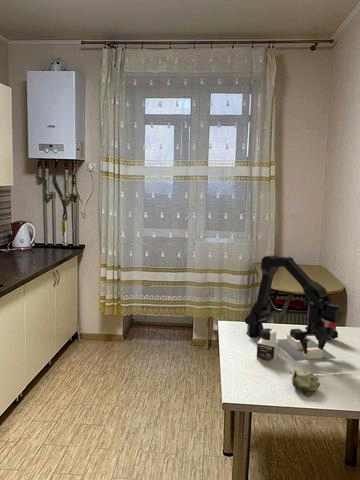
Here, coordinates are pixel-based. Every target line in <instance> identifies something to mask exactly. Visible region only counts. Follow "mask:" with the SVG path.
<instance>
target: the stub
mask: <svg viewBox="0 0 360 480" xmlns="http://www.w3.org/2000/svg"><path fill="white" fill-rule="evenodd" d="M322 354H323V351H322V350H321V349H319V348H318V347H317V346H315V347H307V354H305V353H304V351H303V355H304V356H306V357H307V358H308V359H317V360H320V359H319V358H322Z"/></svg>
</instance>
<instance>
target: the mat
mask: <svg viewBox="0 0 360 480" xmlns="http://www.w3.org/2000/svg"><path fill="white" fill-rule="evenodd" d="M307 339H308V340H309V341H310V347H315V346H317V347H318V343H316V341H314V340H313V339H311V338H310V337H307ZM276 340H278V341H279V347H280V348H281V349H282V350H283V351H284V352H285V353H286V354H287V355H289V356H290V357H291V358H292V359H293V360H294V361H295V362H300V361H313V360H314V361H315V360H328V359H329V360H331V359H337V357H336V356H334V355H333V354H332V353H331V352H329V351H327V350H326V349H325V348H323V350H322V351H323V354H322V358H319V359H308V358H307V357H306V356H304V355H303V349H296V348H295V347H294V346H292V345H291V344H290V343H289V342H288V341H287V338H281V339H278V338H276Z"/></svg>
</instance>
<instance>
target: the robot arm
mask: <svg viewBox="0 0 360 480" xmlns="http://www.w3.org/2000/svg"><path fill="white" fill-rule="evenodd" d="M280 267H283V268H284V269H285V270H286V271H287V272H288V273H289V274H290V275H291V276H292V277H293V278H294V279H295V281H296V282H297V283H298V284H299V285H300V286H301V288H302V291H303V294H304V295H305V296H306V298H307V300H306V301H304V302H303V304H304V305H307V308H308V309H307V316H306V317H305V320H306V321H307V322H306V326H305V327H304V329H305V331H303V330H302V329H301V328H291V329H290V330H289V334H290V336H291V337H293V338H294V339H295V340H300V342H301V345H302V348H303V351H304V353H305V354H307V342H308V341H309V340H308V339H307V338H308V337H312V336H314V337H315V339H316V341H317V342H318V343H317V344H318V348H319V349H321V350H323V349H325V346H326V345H327V343H328V342H330V341H329V340H331V338H335V339H338V337H339V333H338V330H337V329H336V330H334V329H333V328H332V327H325V326H324V321H323V320H322V318H323V319H324V320H326V321H330V322H333V323H336V325H337V324H340V323H341V322H342V319H343V311H342V309H341V306H340V305H337V304H336V305H334V304H332V301H331V300H330V298H329V295H328V294H327V289H326V288H325V287H324V286H323V285H321V284H320V283H319V282H316V281H314V280H313V279H311V277H310V276H309V275H308V274H307V272H305V271H304V270H303V269H302V268H301V267H300V265H298V263H297V262H295V260H294V258H293V257H291V256H279V255H277V254H272V255H266V256H264V257H262V258H261V262H260V269H261V273H262V275H261V281H260V284H259V288H258V292H257V293H258V294H257V297H256V302H255V303H254V305H253V306H252V307H251V310H250V311H249V314H248V315H247V317H245V318H244V322H245V324H247V329H246V332H245V334H246V335H247V336H248V337H249V338H251V339H252V338H253V339H254V338H255V339H256V338H261V330H262V329H264V326H263V323H265V322H266V320H267V319H269V317H270V313H271V308H269V306H268V300H269V297H270V293H271V288H272V284H273V279H274V276H275V275H276V274H277V272H278V271H279V269H280ZM330 337H331V338H330Z"/></svg>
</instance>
